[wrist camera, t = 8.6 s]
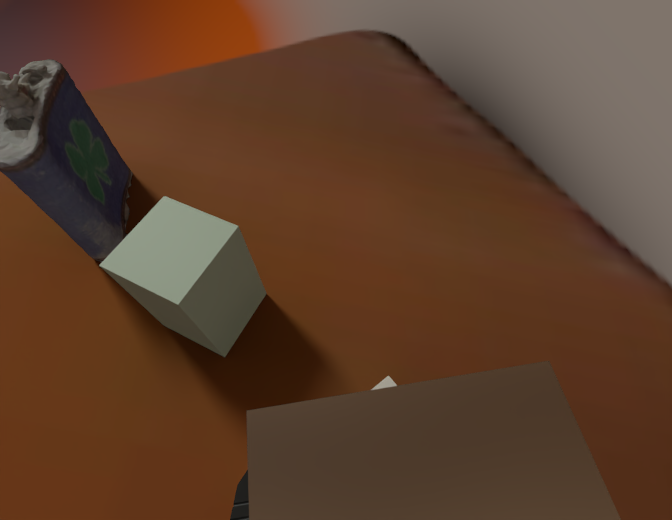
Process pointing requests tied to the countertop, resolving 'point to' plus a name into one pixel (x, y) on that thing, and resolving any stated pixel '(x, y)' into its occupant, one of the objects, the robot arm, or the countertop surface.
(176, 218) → the sage block
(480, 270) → the countertop surface
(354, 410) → the walnut pillar
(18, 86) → the flask
